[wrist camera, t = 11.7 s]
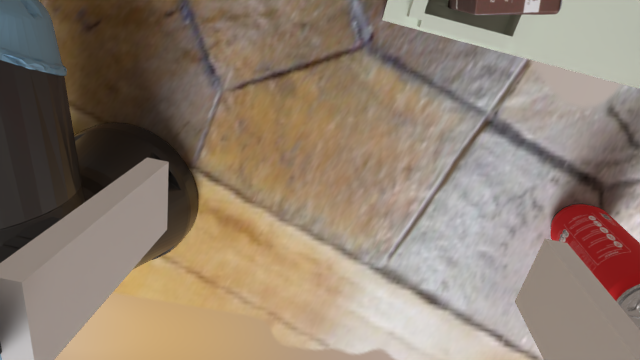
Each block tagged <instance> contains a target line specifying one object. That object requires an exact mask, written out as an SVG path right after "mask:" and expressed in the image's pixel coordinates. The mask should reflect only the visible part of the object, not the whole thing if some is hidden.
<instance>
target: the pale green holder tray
mask: <svg viewBox="0 0 640 360" xmlns="http://www.w3.org/2000/svg"><path fill="white" fill-rule="evenodd" d="M448 1H449V0H388V1H387V4H386V8H385V11H384V15H383V18H382V20H384V21H388V22H391V23H395V24H399V25H403V26H406V27H410V28H414V29H418V30H421V31H425V32H429V33H432V34H436V35H440V36H444V37H447V38H451V39H455V40H459V41H462V42H466V43H470V44H474V45H477V46H481V47H485V48H489V49H492V50H496V51H500V52H504V53H507V54H511V55H515V56H518V57H522V58H526V59H530V60H533V61H537V62H541V63H545V64H548V65H552V66H556V67H560V68H563V69H567V70H571V71H575V72H578V73H582V74H586V75H590V76H594V77H597V78H601V79H604V80H608V81H612V82H616V83H619V84H623V85H627V86H631V87H634V88H638V89H640V0H562V6H561V9H560V11H559V13H557V14H553V15H474V14H469V13H465V12H462V11H458V10H454V9H449V8H448Z"/></svg>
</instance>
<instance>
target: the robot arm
mask: <svg viewBox="0 0 640 360" xmlns="http://www.w3.org/2000/svg"><path fill="white" fill-rule="evenodd" d="M66 74H67V70H66V67H64V66H63V65H62V62H61V58H60V53H59V49H58V45H57V40H56V36H55V31H54V27H53V23H52V20H51V17H50V15H49V13H48V11H47V10H46V8H45V7H44V6H43V5H42V3H41V2H39V1H38V0H0V360H54V359H55V358H56V357H57V356H58V355H59V354H60V352H61V351H62V350H63V349H64V348H65V347H66V345H67V344H68V343H69V342H70V341H71V340H72V338H73V337H74V336H75V335H76V334H77V333H78V332H79V330H80V329H81V328H82V327H83V326H84V325H85V323H86V322H87V321H88V320H89V319H90V318H91V317H92V315H93V314H94V313H95V312H96V311H97V310H98V309H99V307H100V306H101V305H102V304H103V303H104V302H105V300H106V299H107V298H108V297H109V296H110V295H111V294H112V292H113V291H114V290H115V289H116V288H117V287H118V285H119V284H120V283H121V282H122V281H123V280H124V279H125V277H126V276H127V275H128V274H129V273H130V272H131V270H132V269H134V268H136V267H138V266H140V265H142V264H144V263H146V262H148V261H150V260H153V259H156V258H158V257H161V256H163V255H165V254H167V253H168V252H170V251H171V250H172V249H174V248H175V247H176V246H177V245H178V244H179V243H180V242H181V241H182V240H183V238H184V237H185V236H186V235H187V234H188V232H189V231H190V230H191V228H192V226H193V224H194V222H195V219H196V216H197V210H198V195H197V190H196V186H195V182H194V180H193V177H192V175H191V173H190V171H189V169H188V167H187V165H186V164H185V162H184V161H183V160H182V158H181V157H180V156H179V155H178V153H177V152H176V151H175V150H174V149H173V148H172V147H171V146H170V145H169V144H167V143H166V142H165V141H164V140H162V139H161V138H159V137H158V136H156V135H155V134H153V133H151V132H149V131H147V130H145V129H142V128H140V127H137V126H134V125H130V124H124V123H105V124H100V125H97V126H94V127H92V128H89V129H87V130H85V131H82V132H80V133H78V134H76V135H74V133H73V127H72V121H71V115H70V109H69V103H68V97H67V91H66V85H65V78H64V76H66ZM515 303H516V305H517V307H518V309H519V311H520V313H521V315H522V317H523V319H524V321H525V323H526V325H527V327H528V329H529V331H530V333H531V335H532V337H533V339H534V341H535V343H536V345H537V347H538V349H539V351H540V353H541V355H542V357H543V359H544V360H640V329H639V328H638V327H637V326H636V325H635V324H634V322H633V321H632V320H631V319H630V318H629V316H628V315H627V314H626V313H625V312H624V310H623V309H622V308H621V307H620V306H619V304H618V303H617V302H616V301H615V300H614V298H613V297H612V296H611V295H610V294H609V292H608V291H607V290H606V289H605V288H604V286H603V285H602V284H601V283H600V282H599V280H598V279H597V278H596V277H595V276H594V274H593V273H592V272H591V271H590V270H589V268H588V267H587V266H586V265H585V264H584V262H583V261H582V260H581V259H580V258H579V256H578V255H577V254H576V253H575V252H574V250H573V249H572V248H571V247H570V246H569V244H568V243H564V242H559V241H554V240H549V239H545V240H544V242H543V244H542V246H541V248H540V250H539V252H538V254H537V256H536V258H535V261H534V263H533V265H532V267H531V269H530V271H529V273H528V275H527V277H526V279H525V281H524V284H523V286H522V288H521V290H520V292H519V294H518V296H517V298H516V300H515Z"/></svg>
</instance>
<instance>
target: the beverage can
mask: <svg viewBox="0 0 640 360" xmlns="http://www.w3.org/2000/svg"><path fill="white" fill-rule="evenodd" d="M551 239H552V240H554V241H559V242H564V243H568V244H569V246H570V247H571V248H572V249H573V250H574V252H575V253H576V254H577V255H578V256H579V258H580V259H581V260H582V261H583V262H584V264H585V265H586V266H587V267H588V268H589V270H590V271H591V272H592V273H593V274H594V276H595V277H596V278H597V279H598V280H599V282H600V283H601V284H602V285H603V286H604V288H605V289H606V290H607V291H608V292H609V294H610V295H611V296H612V297H613V298H614V300H615V301H616V302H617V303H618V304H619V306H620V307H621V308H622V309H623V310H624V312H625V313H626V314H627V315H628V316H629V318H630V319H631V320H632V321H633V322H634V324H635V325H636V326H637V327H638V328H639V329H640V243H639V242H638V241H637V240H636V239H635V238H633V237H632V236H631V235H630V234H629V233H628V232H627V231H626V230H625V229H624V228H623V227H622V226H620V225H619V224H618V223H617V222H616V221H615V220H614V219H613V218H612V217H611V216H610V215H609V214H607V213H606V212H605V211H604V210H602V209H600V208H598V207H595V206H589V205H586V204H574V205H570V206H567V207H565V208H563V209H562V210H560V211H559V212H558V213H557V214H556V215H555V216H554V218H553V220H552V222H551Z"/></svg>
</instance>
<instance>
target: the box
mask: <svg viewBox="0 0 640 360" xmlns="http://www.w3.org/2000/svg"><path fill="white" fill-rule="evenodd" d="M561 6H562V0H449V1H448V8H449V9H454V10H458V11H462V12H465V13H469V14H474V15H553V14H557V13H559V11H560V9H561Z"/></svg>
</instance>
